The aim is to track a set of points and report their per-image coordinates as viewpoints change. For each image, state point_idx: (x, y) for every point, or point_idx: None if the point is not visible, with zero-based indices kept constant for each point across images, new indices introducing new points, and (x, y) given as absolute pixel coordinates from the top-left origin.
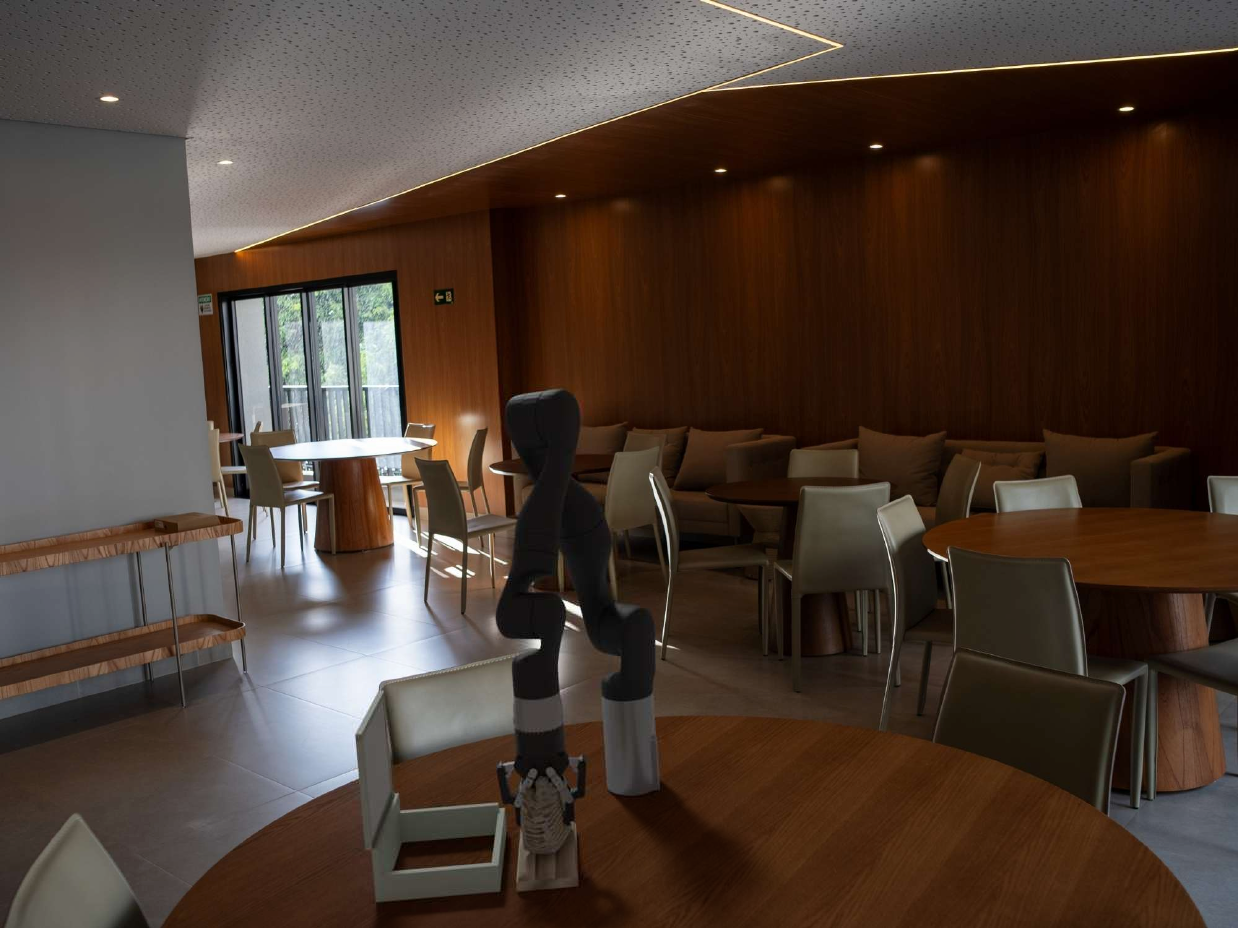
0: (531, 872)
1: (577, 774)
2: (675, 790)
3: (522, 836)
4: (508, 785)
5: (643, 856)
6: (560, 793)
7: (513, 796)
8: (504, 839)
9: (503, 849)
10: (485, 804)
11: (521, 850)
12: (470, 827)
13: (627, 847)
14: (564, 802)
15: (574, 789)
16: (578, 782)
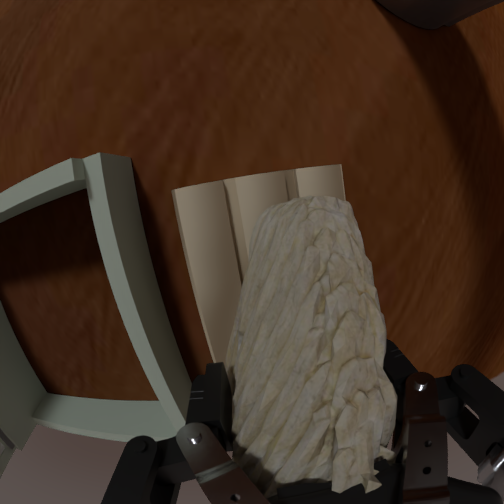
0: None
1: (487, 426)
2: (467, 38)
3: (232, 419)
4: (148, 490)
5: (448, 283)
6: (384, 353)
7: (188, 477)
8: (141, 243)
9: (155, 293)
10: (41, 180)
11: (214, 343)
12: (47, 199)
13: (433, 249)
14: (364, 250)
15: (442, 408)
16: (463, 445)
